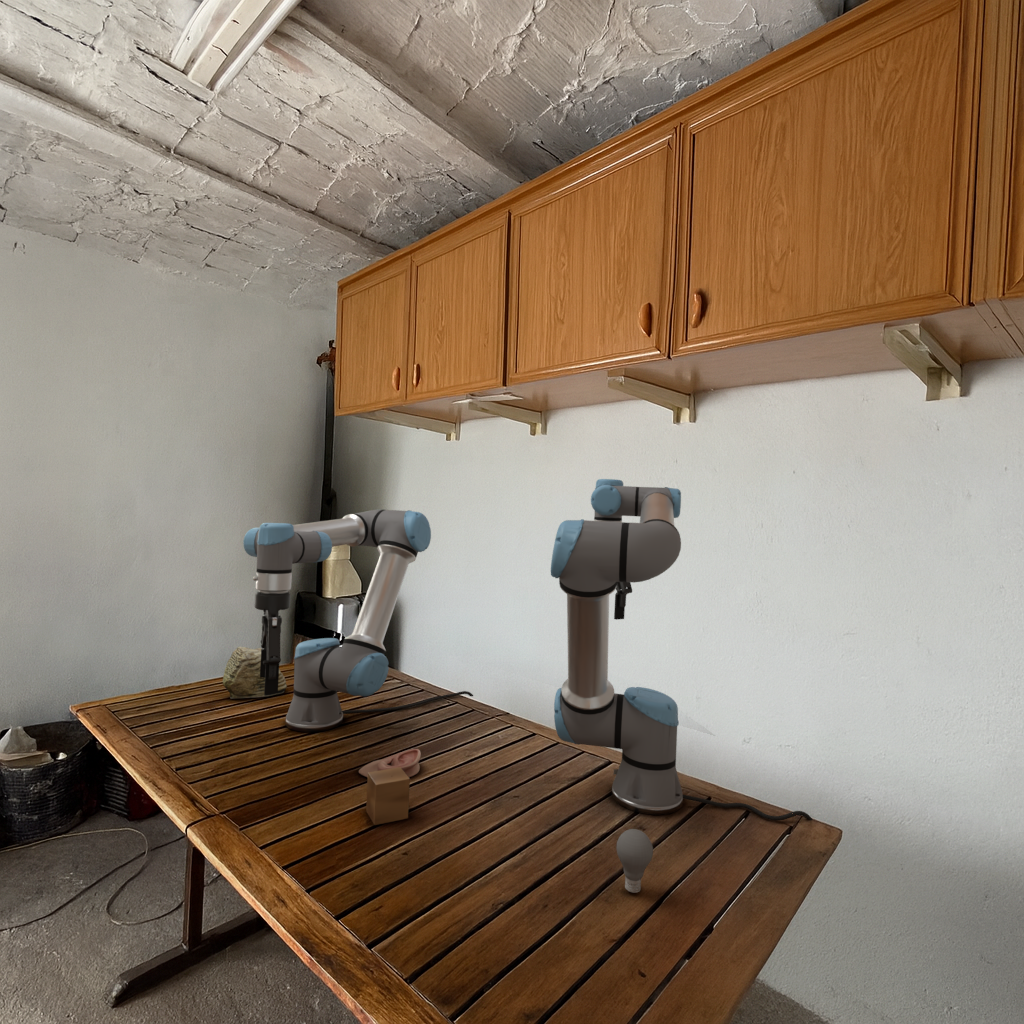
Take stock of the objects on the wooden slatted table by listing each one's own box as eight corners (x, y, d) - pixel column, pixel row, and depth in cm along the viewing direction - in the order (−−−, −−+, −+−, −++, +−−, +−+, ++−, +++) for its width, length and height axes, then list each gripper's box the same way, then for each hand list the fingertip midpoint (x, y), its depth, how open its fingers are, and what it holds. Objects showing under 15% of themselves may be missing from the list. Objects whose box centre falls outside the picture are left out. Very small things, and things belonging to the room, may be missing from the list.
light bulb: (610, 879, 108) (613, 822, 108) (644, 879, 109) (647, 822, 109) (619, 902, 102) (622, 840, 102) (655, 901, 103) (658, 840, 103)
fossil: (218, 695, 195) (220, 647, 195) (278, 685, 208) (279, 640, 207) (228, 703, 189) (230, 653, 188) (289, 692, 201) (290, 645, 201)
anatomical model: (353, 759, 143) (374, 741, 154) (352, 777, 143) (373, 757, 154) (408, 767, 140) (426, 748, 152) (408, 785, 140) (425, 764, 152)
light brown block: (366, 811, 128) (367, 772, 128) (398, 805, 132) (400, 766, 132) (374, 825, 123) (376, 784, 123) (408, 818, 126) (409, 778, 126)
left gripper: (252, 584, 153) (247, 671, 153) (259, 599, 130) (254, 702, 130) (284, 584, 156) (280, 669, 156) (297, 599, 134) (292, 699, 134)
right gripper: (570, 533, 181) (566, 607, 181) (625, 539, 159) (621, 624, 159) (591, 533, 184) (588, 606, 184) (648, 539, 162) (644, 622, 163)
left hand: (268, 684), depth 143 cm, fingers open, 13 cm apart
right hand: (603, 614), depth 172 cm, fingers open, 13 cm apart
